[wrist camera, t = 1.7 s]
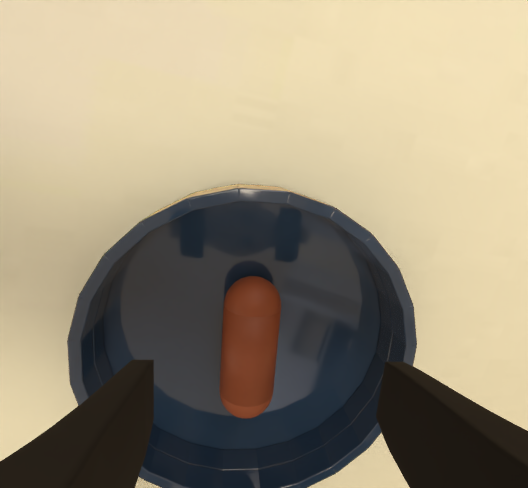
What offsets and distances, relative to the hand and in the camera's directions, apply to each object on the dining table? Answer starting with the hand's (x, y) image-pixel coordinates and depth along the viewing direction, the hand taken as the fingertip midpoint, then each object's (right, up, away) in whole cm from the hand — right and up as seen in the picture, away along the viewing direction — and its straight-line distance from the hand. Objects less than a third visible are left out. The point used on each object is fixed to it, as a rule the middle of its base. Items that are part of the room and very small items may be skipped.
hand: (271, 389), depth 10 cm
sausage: (-1, -1, +8) cm, 8 cm away
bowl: (-1, -1, +10) cm, 10 cm away
